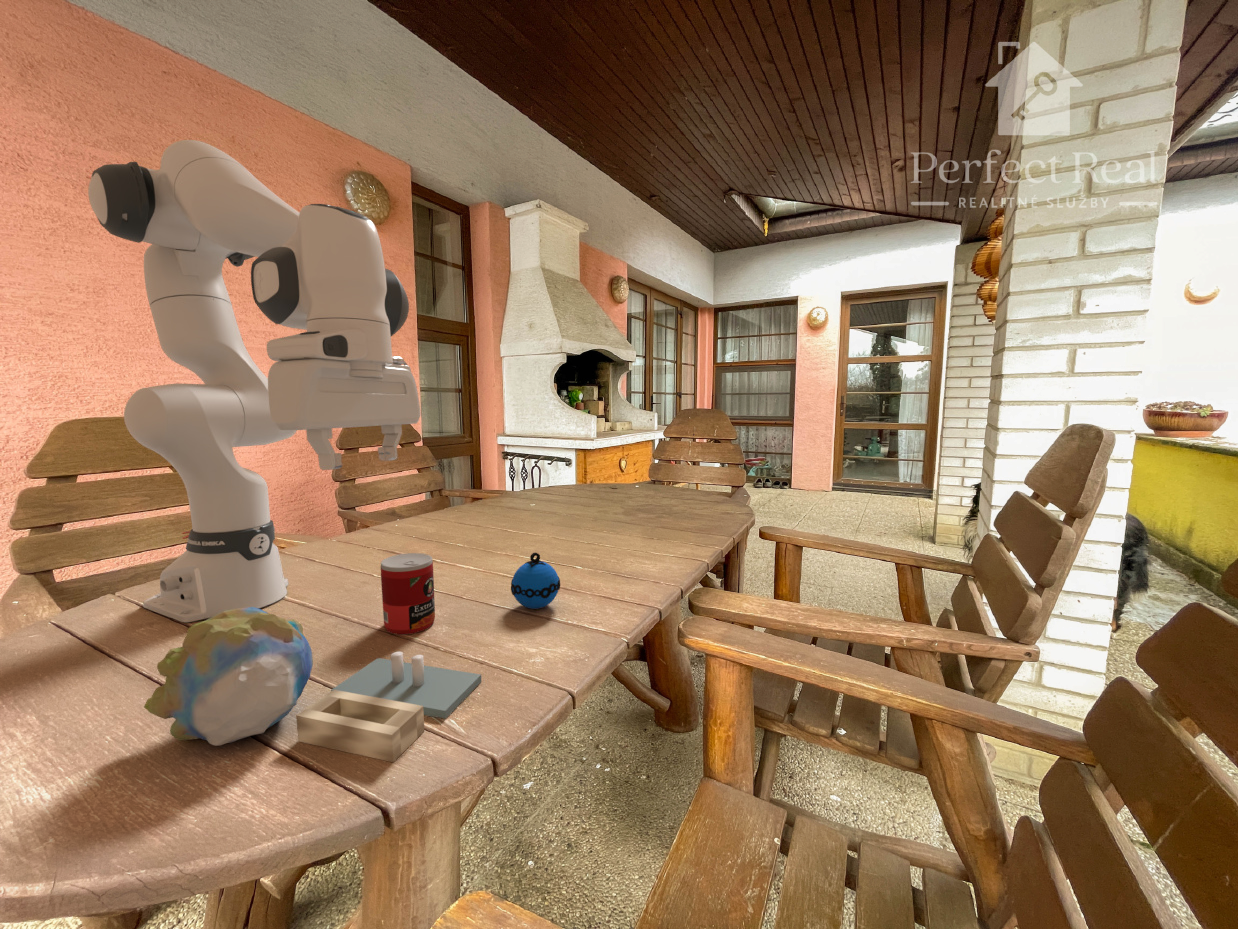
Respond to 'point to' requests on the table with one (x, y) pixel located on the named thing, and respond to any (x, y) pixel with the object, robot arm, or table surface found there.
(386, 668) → the boss board
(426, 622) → the canned food
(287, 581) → the robot arm
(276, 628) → the decorative rock
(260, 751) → the table surface
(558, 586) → the ornament
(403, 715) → the beige wooden rectangular frame
